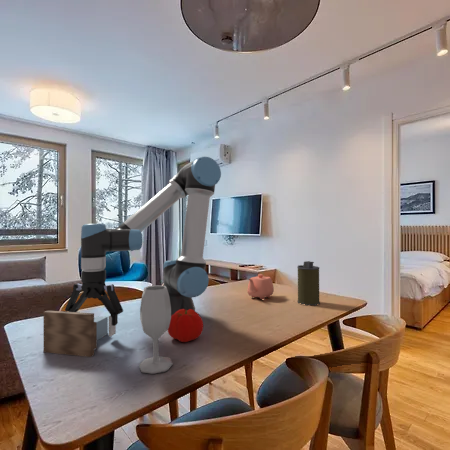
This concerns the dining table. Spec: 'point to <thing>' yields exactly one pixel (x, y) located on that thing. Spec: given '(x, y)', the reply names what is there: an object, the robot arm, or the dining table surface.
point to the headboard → (70, 333)
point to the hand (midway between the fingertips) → (93, 333)
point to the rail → (101, 326)
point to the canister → (308, 284)
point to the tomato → (185, 325)
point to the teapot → (260, 286)
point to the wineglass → (155, 325)
